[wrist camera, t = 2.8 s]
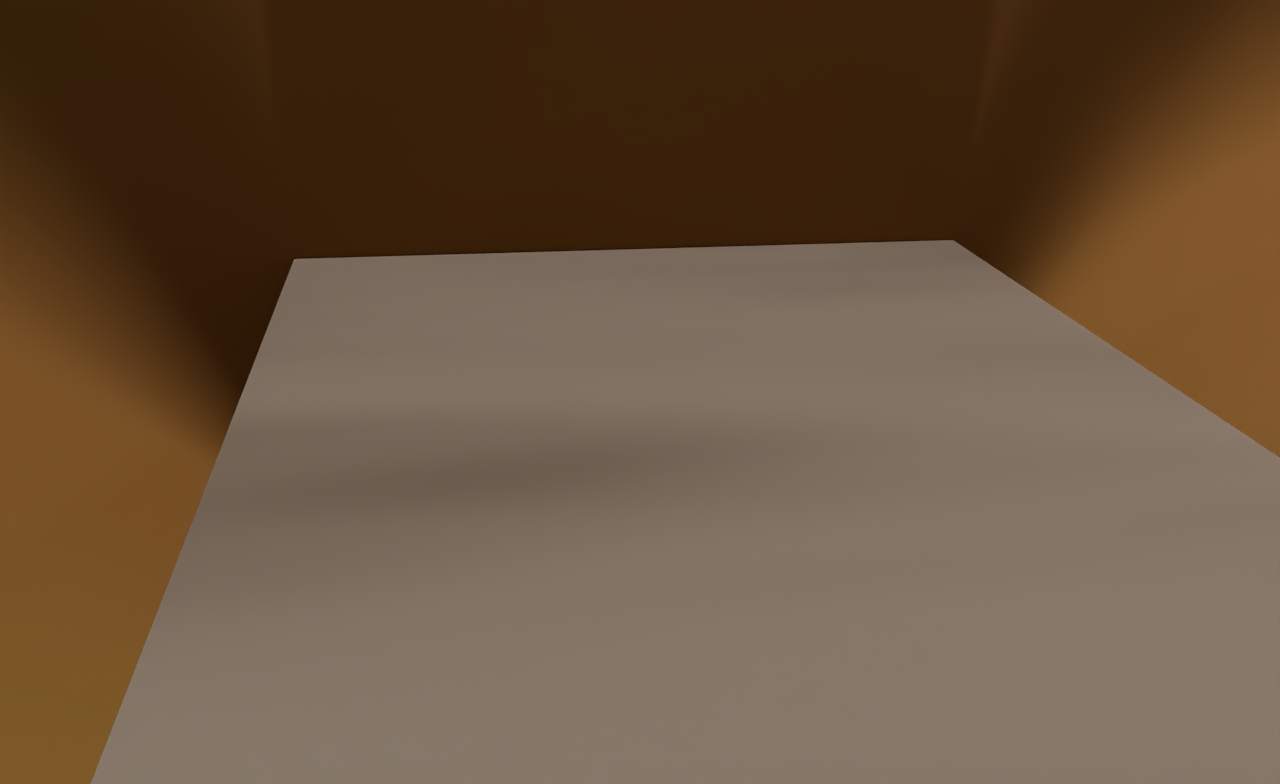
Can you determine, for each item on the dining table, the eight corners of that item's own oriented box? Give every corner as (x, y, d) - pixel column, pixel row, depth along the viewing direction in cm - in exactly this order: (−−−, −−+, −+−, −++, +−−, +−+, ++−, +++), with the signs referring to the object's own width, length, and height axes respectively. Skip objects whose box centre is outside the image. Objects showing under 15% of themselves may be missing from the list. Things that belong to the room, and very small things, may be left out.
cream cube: (852, 684, 11) (1196, 1333, 6) (371, 748, 10) (305, 1613, 5) (953, 240, 8) (1752, 772, 3) (293, 259, 7) (-42, 1122, 2)
